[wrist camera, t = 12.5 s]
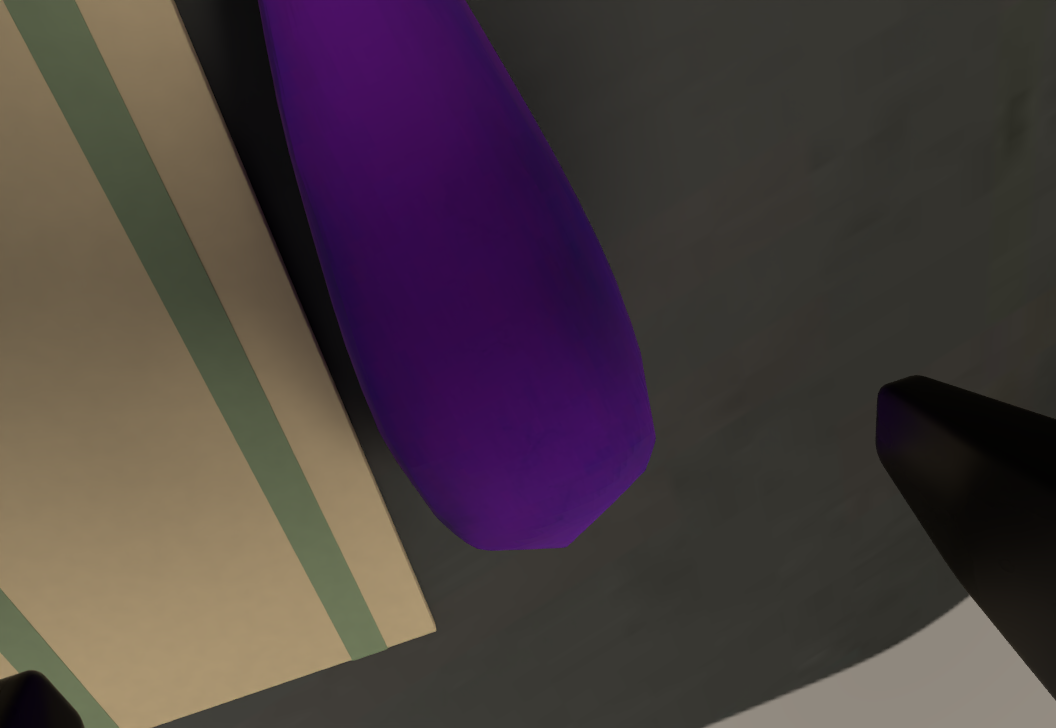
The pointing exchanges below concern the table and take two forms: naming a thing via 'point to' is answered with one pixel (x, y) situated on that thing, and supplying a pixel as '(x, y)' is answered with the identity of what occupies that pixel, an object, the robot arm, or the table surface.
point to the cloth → (164, 395)
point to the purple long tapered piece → (459, 269)
